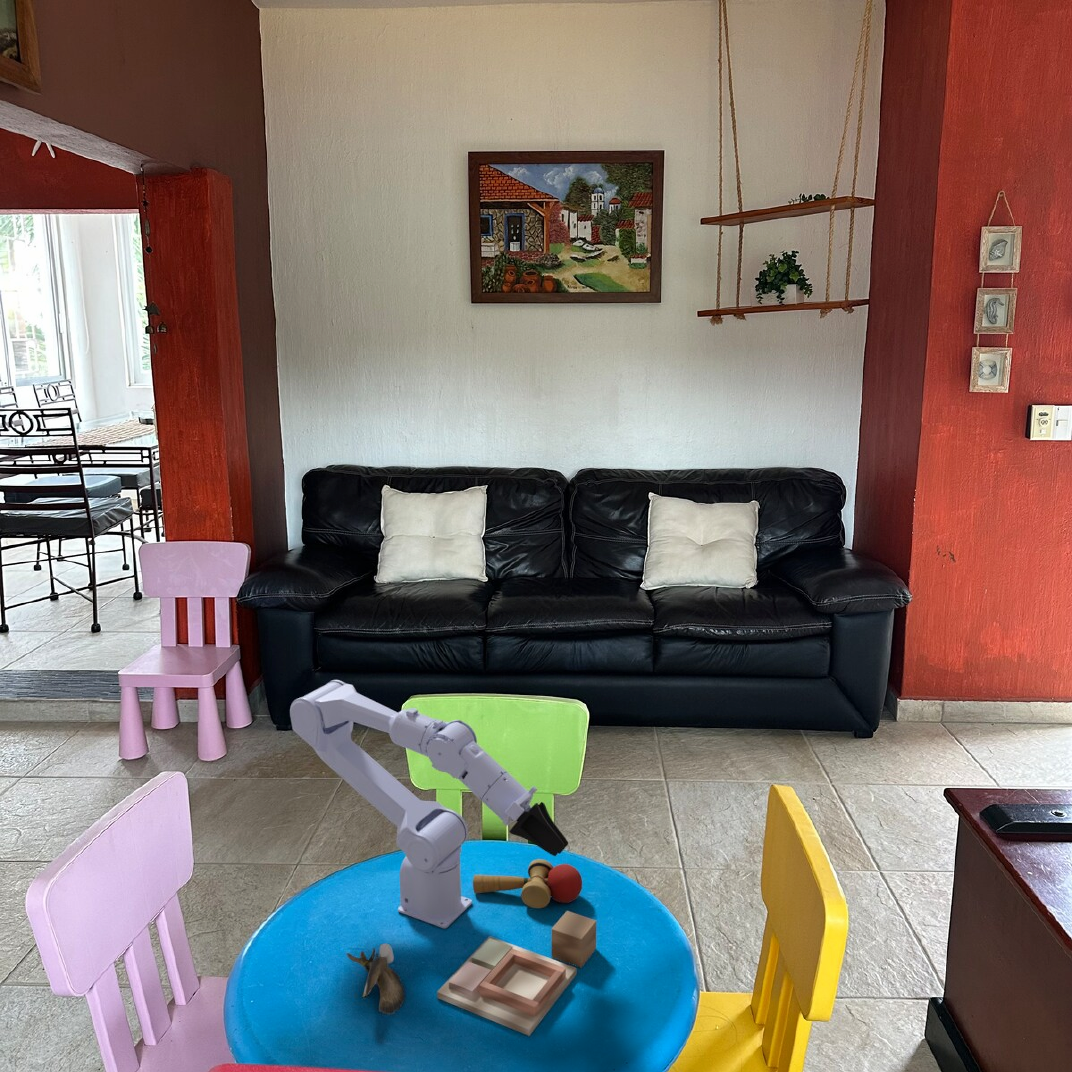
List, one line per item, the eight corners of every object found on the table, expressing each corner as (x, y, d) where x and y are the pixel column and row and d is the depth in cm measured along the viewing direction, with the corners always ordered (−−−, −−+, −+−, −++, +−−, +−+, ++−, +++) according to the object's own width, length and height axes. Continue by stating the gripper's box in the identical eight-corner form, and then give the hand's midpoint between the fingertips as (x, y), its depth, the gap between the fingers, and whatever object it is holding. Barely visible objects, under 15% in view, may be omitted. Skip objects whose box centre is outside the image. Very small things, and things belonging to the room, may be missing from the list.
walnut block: (551, 957, 146) (551, 928, 145) (566, 938, 151) (567, 910, 149) (581, 968, 144) (581, 939, 143) (596, 949, 148) (596, 920, 147)
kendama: (471, 915, 158) (581, 911, 155) (467, 877, 158) (576, 872, 155) (482, 895, 166) (586, 890, 163) (477, 859, 166) (582, 853, 163)
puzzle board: (437, 997, 138) (436, 982, 137) (489, 941, 150) (489, 927, 149) (529, 1035, 131) (529, 1020, 130) (576, 973, 143) (576, 959, 142)
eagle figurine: (334, 981, 140) (355, 1009, 132) (355, 932, 141) (377, 957, 133) (379, 992, 143) (402, 1020, 136) (399, 945, 145) (423, 969, 137)
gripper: (505, 764, 140) (576, 829, 137) (518, 767, 154) (583, 827, 151) (472, 801, 139) (543, 869, 136) (488, 802, 153) (553, 863, 150)
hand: (562, 849), depth 143 cm, fingers open, 7 cm apart
